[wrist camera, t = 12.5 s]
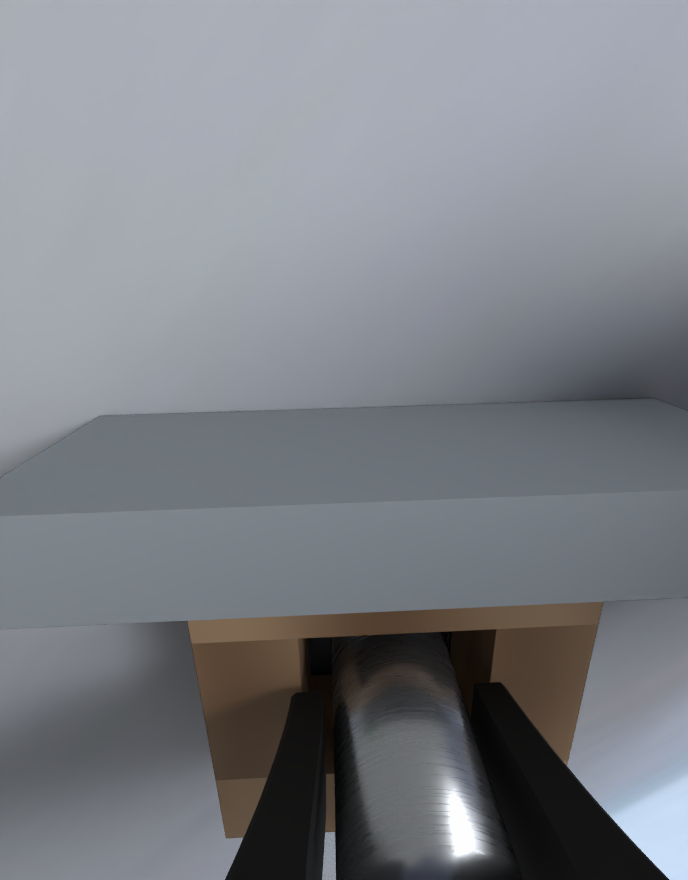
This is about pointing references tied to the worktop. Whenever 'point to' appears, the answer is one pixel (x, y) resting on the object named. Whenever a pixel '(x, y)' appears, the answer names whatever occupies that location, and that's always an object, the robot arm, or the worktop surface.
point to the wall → (347, 512)
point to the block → (288, 671)
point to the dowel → (410, 767)
